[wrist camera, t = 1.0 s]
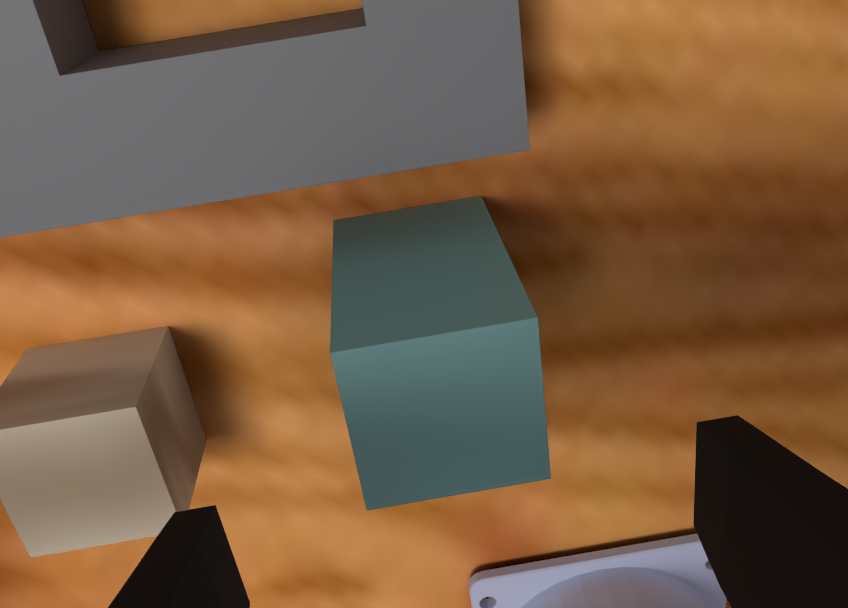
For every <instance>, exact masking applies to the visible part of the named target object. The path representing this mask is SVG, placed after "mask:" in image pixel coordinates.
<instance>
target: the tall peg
mask: <svg viewBox="0 0 848 608" xmlns="http://www.w3.org/2000/svg"><path fill="white" fill-rule="evenodd" d="M330 354H331V358H332V362H333V367H334V371H335V375H336V380H337V384H338V388H339V393H340V397H341V401H342V405H343V410H344V414H345V418H346V423H347V427H348V431H349V436H350V440H351V444H352V448H353V453H354V457H355V461H356V466H357V470H358V474H359V479H360V483H361V487H362V491H363V496H364V500H365V504H366V509H367V510H373V509H378V508H384V507H390V506H396V505H401V504H407V503H413V502H419V501H425V500H430V499H436V498H442V497H448V496H453V495H459V494H465V493H471V492H476V491H482V490H488V489H494V488H499V487H505V486H511V485H517V484H523V483H528V482H534V481H540V480H546V479H551V473H550V461H549V449H548V437H547V424H546V412H545V400H544V388H543V375H542V363H541V351H540V339H539V327H538V317H537V315H536V313H535V311H534V308H533V306H532V304H531V302H530V300H529V298H528V296H527V293H526V291H525V289H524V287H523V285H522V283H521V281H520V278H519V276H518V274H517V272H516V270H515V268H514V266H513V263H512V261H511V259H510V257H509V255H508V253H507V251H506V248H505V246H504V244H503V242H502V240H501V238H500V236H499V233H498V231H497V229H496V227H495V225H494V223H493V221H492V218H491V216H490V214H489V212H488V210H487V208H486V205H485V203H484V201H483V199H482V197H481V196H477V197H471V198H465V199H459V200H453V201H447V202H441V203H435V204H429V205H423V206H417V207H411V208H405V209H399V210H393V211H387V212H381V213H375V214H369V215H363V216H357V217H351V218H345V219H339V220H334V225H333V265H332V304H331V344H330Z"/></svg>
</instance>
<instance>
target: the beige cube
mask: <svg viewBox="0 0 848 608" xmlns="http://www.w3.org/2000/svg"><path fill="white" fill-rule="evenodd" d="M205 443H206V436H205V433H204V430H203V427H202V424H201V421H200V418H199V415H198V412H197V409H196V406H195V403H194V401H193V398H192V395H191V392H190V389H189V386H188V383H187V380H186V377H185V374H184V371H183V368H182V365H181V362H180V359H179V356H178V353H177V350H176V347H175V345H174V342H173V339H172V336H171V333H170V330H169V327H168V326H165V327H159V328H153V329H147V330H141V331H135V332H129V333H123V334H117V335H111V336H105V337H99V338H93V339H87V340H81V341H75V342H69V343H63V344H56V345H50V346H44V347H38V348H32V349H26V350H25V352H24V353H23V355H22V356H21V358H20V359H19V361H18V362H17V363H16V365H15V366H14V368H13V369H12V371H11V372H10V373H9V375H8V376H7V378H6V379H5V381H4V382H3V384H2V385H1V386H0V500H1V502H2V504H3V506H4V508H5V510H6V512H7V514H8V515H9V517H10V519H11V521H12V523H13V525H14V527H15V529H16V531H17V533H18V535H19V536H20V538H21V540H22V542H23V544H24V546H25V548H26V550H27V552H28V554H29V556H30V558H31V557H37V556H42V555H48V554H54V553H60V552H66V551H72V550H77V549H83V548H89V547H95V546H101V545H107V544H112V543H118V542H124V541H130V540H136V539H142V538H147V537H153V536H158V535H159V533H160V532H161V530H162V529H163V527H164V526H165V525H166V523H167V522H168V520H169V519H170V518H171V516H172V515H173V514H174V512H179V511H185V510H189V508H190V504H191V500H192V496H193V491H194V487H195V483H196V479H197V475H198V471H199V467H200V463H201V459H202V455H203V451H204V447H205Z"/></svg>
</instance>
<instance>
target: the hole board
mask: <svg viewBox="0 0 848 608" xmlns="http://www.w3.org/2000/svg"><path fill="white" fill-rule="evenodd" d="M362 5H363V8H362V9H356V10H350V11H344V12H337V13H331V14H325V15H319V16H313V17H307V18H300V19H294V20H288V21H282V22H276V23H270V24H263V25H257V26H251V27H245V28H239V29H233V30H226V31H220V32H214V33H208V34H202V35H196V36H189V37H183V38H177V39H171V40H165V41H159V42H152V43H146V44H140V45H134V46H128V47H121V48H115V49H109V50H103V51H98V48H97V45H96V41H95V38H94V35H93V32H92V29H91V26H90V23H89V20H88V17H87V14H86V11H85V8H84V5H83V2H82V0H0V237H6V236H12V235H18V234H24V233H30V232H36V231H42V230H48V229H54V228H61V227H67V226H73V225H79V224H85V223H91V222H97V221H103V220H109V219H115V218H121V217H127V216H133V215H139V214H145V213H151V212H157V211H163V210H169V209H175V208H181V207H187V206H193V205H199V204H206V203H212V202H218V201H224V200H230V199H236V198H242V197H248V196H254V195H260V194H266V193H272V192H278V191H284V190H290V189H296V188H302V187H308V186H314V185H320V184H326V183H332V182H338V181H344V180H350V179H357V178H363V177H369V176H375V175H381V174H387V173H393V172H399V171H405V170H411V169H417V168H423V167H429V166H435V165H441V164H447V163H453V162H459V161H465V160H471V159H477V158H483V157H489V156H495V155H502V154H508V153H514V152H520V151H526V150H530V145H529V133H528V120H527V107H526V94H525V81H524V69H523V56H522V43H521V30H520V17H519V5H518V0H362Z"/></svg>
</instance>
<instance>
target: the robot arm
mask: <svg viewBox="0 0 848 608" xmlns="http://www.w3.org/2000/svg"><path fill="white" fill-rule="evenodd" d="M694 527H695V529H696V532H697V534H691V535H686V536H680V537H674V538H668V539H663V540H657V541H651V542H645V543H640V544H634V545H628V546H622V547H617V548H611V549H605V550H599V551H594V552H588V553H582V554H576V555H571V556H565V557H559V558H553V559H548V560H542V561H536V562H530V563H525V564H519V565H513V566H507V567H502V568H496V569H490V570H484V571H480V572H477V573H476V574H474V575H473V576H472V577H471V578H470V580H469V583H468V587H469V594H470V600H471V606H472V608H726V601H727V600H728V602H729V604H730V605H731V607H732V608H848V489H847V488H845V487H844V486H842V485H841V484H839V483H838V482H836V481H834V480H833V479H831V478H830V477H828V476H827V475H825V474H824V473H822V472H821V471H819V470H818V469H816V468H815V467H813V466H812V465H810V464H809V463H807V462H806V461H804V460H803V459H801V458H800V457H798V456H797V455H795V454H794V453H792V452H791V451H789V450H788V449H787V448H785V447H784V446H782V445H781V444H779V443H778V442H776V441H775V440H773V439H772V438H770V437H769V436H767V435H766V434H765V433H763V432H762V431H760V430H759V429H757V428H756V427H754V426H753V425H751V424H750V423H748V422H747V421H745V420H744V419H742V418H740V417H739V416H732V417H726V418H720V419H714V420H708V421H702V422H697V434H696V467H695V499H694ZM485 597H490V598H487V599H483V598H485ZM108 608H250V602H249V599H248V596H247V593H246V590H245V588H244V585H243V582H242V579H241V576H240V573H239V571H238V568H237V565H236V562H235V559H234V556H233V554H232V551H231V548H230V545H229V542H228V540H227V537H226V534H225V531H224V528H223V525H222V523H221V520H220V517H219V514H218V511H217V508H216V506H215V505H214V506H208V507H202V508H197V509H191V510H185V511H179V512H174V514H173V515H172V516H171V518H170V519H169V520H168V522H167V523H166V525H165V526H164V527H163V529H162V530H161V532H160V533H159V535H158V536H157V537H156V539H155V540H154V542H153V543H152V545H151V546H150V548H149V549H148V551H147V552H146V554H145V555H144V557H143V558H142V559H141V561H140V562H139V564H138V565H137V567H136V568H135V570H134V571H133V573H132V574H131V576H130V577H129V578H128V580H127V581H126V583H125V584H124V586H123V587H122V589H121V590H120V591H119V593H118V594H117V596H116V597H115V598H114V600H113V601H112V603H111V604H110V605H109V607H108Z"/></svg>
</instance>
